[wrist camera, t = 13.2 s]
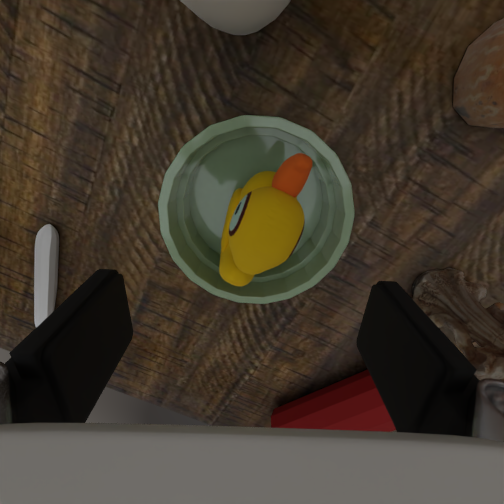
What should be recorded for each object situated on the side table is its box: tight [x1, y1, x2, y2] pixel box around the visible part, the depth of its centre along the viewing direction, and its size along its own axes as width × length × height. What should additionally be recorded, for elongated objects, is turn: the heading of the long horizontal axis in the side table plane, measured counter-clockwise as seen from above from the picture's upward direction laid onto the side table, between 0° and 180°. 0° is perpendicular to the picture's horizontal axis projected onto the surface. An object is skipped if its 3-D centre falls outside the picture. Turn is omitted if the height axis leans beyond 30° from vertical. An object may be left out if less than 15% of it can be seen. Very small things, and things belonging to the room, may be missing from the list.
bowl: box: [158, 115, 355, 304], centre depth 22 cm, size 14×14×6 cm
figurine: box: [412, 268, 504, 381], centre depth 22 cm, size 7×6×15 cm
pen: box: [34, 224, 59, 328], centre depth 28 cm, size 2×14×2 cm, turn 161°
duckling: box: [219, 153, 312, 286], centre depth 20 cm, size 11×5×10 cm, turn 155°
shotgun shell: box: [271, 370, 396, 432], centre depth 32 cm, size 7×20×7 cm, turn 125°
